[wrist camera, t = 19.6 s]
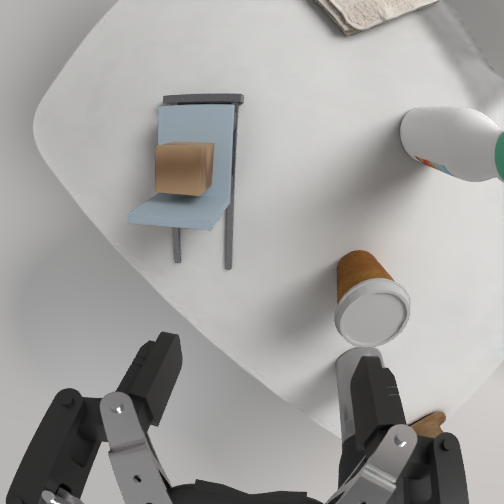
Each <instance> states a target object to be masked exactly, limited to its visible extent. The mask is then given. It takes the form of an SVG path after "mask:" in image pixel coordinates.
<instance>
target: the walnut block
mask: <svg viewBox="0 0 504 504" xmlns="http://www.w3.org/2000/svg"><path fill="white" fill-rule="evenodd" d="M213 157H214V143H198V142H171V143H166V144H162V145H158V146H156V148H155V192H157V193H170V194H182V195H194V196H200V195H201V194H202V193H204V192H205V191H206V190H207V189H208V188H209V187H210V186H211V185H212V176H213Z"/></svg>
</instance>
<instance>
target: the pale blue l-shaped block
mask: <svg viewBox="0 0 504 504" xmlns="http://www.w3.org/2000/svg"><path fill="white" fill-rule="evenodd" d="M234 107H235V105H227V104H202V105H174V106H158V145H162V144H166V143H171V142H198V143H214V157H213V176H212V185H211V186H210V187H209V188H208V189H207V190H206V191H205V192H204V193H202V194H201V195H200V196H194V195H182V194H170V193H159V194H157V195H155V196H154V197H152V198H151V199H149V200H148V201H146V202H145V203H143V204H142V205H140V206H139V207H137V208H136V209H134V210H133V211H131V212H130V213H128V214H127V215H128V223H133V224H145V225H156V226H167V227H178V228H189V229H200V230H210V231H211V230H212V228H213V227H214V225H215V224H216V223H217V221H218V220H219V218H220V217H221V215H222V214H223V212H224V211H225V209H226V208H227V207H228V205H229V204H230V194H232V191H233V185H234V178H233V175H231V168H232V146H233V131H235V129H236V122H237V116H236V112H234Z"/></svg>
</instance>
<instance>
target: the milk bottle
mask: <svg viewBox="0 0 504 504" xmlns="http://www.w3.org/2000/svg"><path fill="white" fill-rule="evenodd" d="M400 137H401V141H402V144H403V147H404V149H405V150H406V152H407V153H408V154H409V155H410V156H411V157H412V158H413V159H415V160H416V161H418V162H421V163H423V164H425V165H428V166H430V167H432V168H435V169H437V170H440V171H442V172H444V173H447V174H449V175H451V176H454V177H456V178H459V179H462V180H465V181H470V182H481V181H486V180H489V179H491V178H496V177H498V179H499V180H501V181H502V182H504V128H503V129H500V128H499V127H498V126H496V125H495V124H494V123H493V122H492V121H491V120H490V119H489V118H488V117H487V116H485V115H484V114H482V113H480V112H478V111H476V110H473V109H469V108H463V107H444V106H439V107H418V108H414V109H412V110H410V111H409V112H408V113H407V114H406V115H405V116H404V118H403V120H402V123H401V127H400Z"/></svg>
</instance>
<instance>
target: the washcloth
mask: <svg viewBox="0 0 504 504" xmlns="http://www.w3.org/2000/svg"><path fill="white" fill-rule="evenodd" d="M439 1H440V0H315V2H317V3H318V4H319V5H320V6H321V7H322V8H323V9H324V10H325V11H326V12H327V14H328V15H329V16H330V17H331V18H332V20H334V22H335V23H336V24H337V25H338V26H339V28H340V29H341V30H342V31H343V32H344V33H345V35H347V36H349V35H352V34H354V33H357V32H361V31H362V30H366V29H369V28H373V27H375V26H378V25H381V24H383V23H385V22H388V21H390V20H392V19H395V18H398V17H400V16H403V15H405V14H408V13H410V12H413V11H415V10H418V9H422V8H425V7H428V6H431V5H433V4H435V3H437V2H439Z"/></svg>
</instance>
